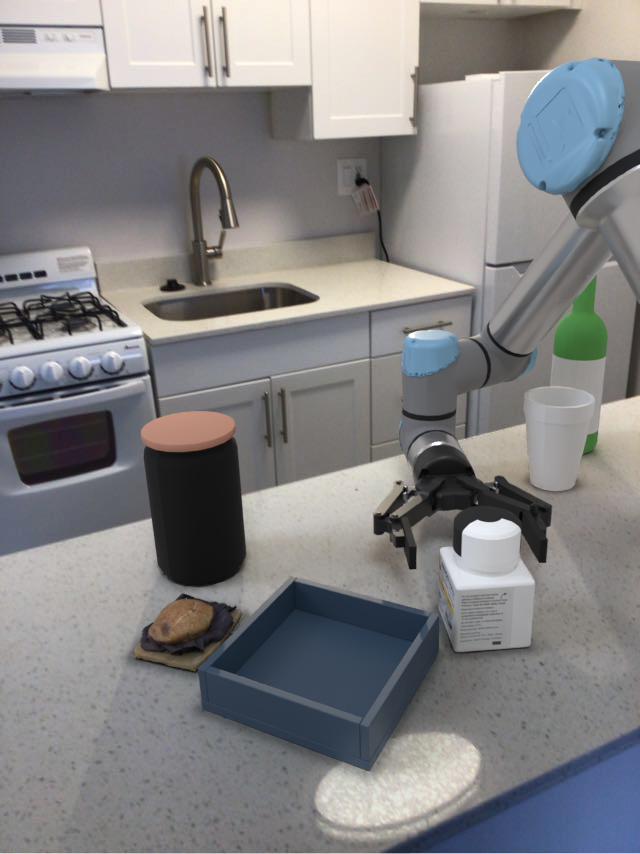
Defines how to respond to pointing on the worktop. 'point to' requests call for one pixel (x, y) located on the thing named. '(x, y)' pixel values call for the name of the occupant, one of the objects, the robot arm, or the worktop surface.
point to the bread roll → (187, 632)
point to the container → (486, 582)
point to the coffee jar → (195, 496)
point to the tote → (323, 669)
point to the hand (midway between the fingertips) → (478, 555)
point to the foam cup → (556, 434)
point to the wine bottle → (582, 354)
